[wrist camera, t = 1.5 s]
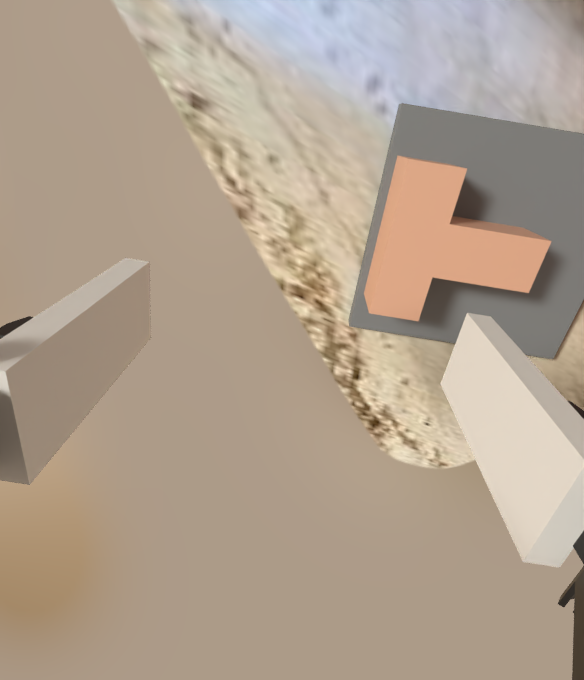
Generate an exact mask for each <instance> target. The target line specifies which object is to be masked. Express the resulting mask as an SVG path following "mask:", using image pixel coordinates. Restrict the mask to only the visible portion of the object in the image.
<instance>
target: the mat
mask: <svg viewBox="0 0 584 680" xmlns="http://www.w3.org/2000/svg"><path fill="white" fill-rule="evenodd" d="M397 155H398V156H404V157H410V158H416V159H422V160H428V161H434V162H440V163H446V164H451V165H455V166H459V167H463V168H467V171H466V174H465V178H464V181H463V184H462V187H461V190H460V193H459V196H458V199H457V203H456V206H455V209H454V212H453V215H452V216H455V217H461V218H467V219H473V220H479V221H485V222H491V223H498V224H504V225H510V226H516V227H522V228H525V229H527V230H529V231H531V232H533V233H536V234H538V235H540V236H542V237H544V238H546V239H548V240H550V241H551V244H550V246H549V248H548V251H547V253H546V255H545V257H544V260H543V262H542V264H541V266H540V269H539V271H538V273H537V275H536V278H535V280H534V282H533V284H532V287H531V289H530V291H529V293H525V292H519V291H512V290H506V289H500V288H494V287H488V286H482V285H476V284H470V283H464V282H458V281H451V280H445V279H439V278H433V277H432V280H431V284H430V287H429V290H428V293H427V296H426V299H425V302H424V305H423V309H422V312H421V315H420V318H419V321H413V320H407V319H401V318H395V317H388V316H382V315H376V314H370V313H369V311H368V307H367V303H366V299H365V296H364V291H365V287H366V282H367V278H368V274H369V270H370V266H371V262H372V258H373V254H374V250H375V246H376V242H377V237H378V233H379V229H380V225H381V221H382V217H383V213H384V209H385V205H386V201H387V196H388V192H389V188H390V184H391V180H392V176H393V172H394V168H395V164H396V160H397ZM583 300H584V134H582V133H576V132H570V131H564V130H558V129H552V128H546V127H540V126H534V125H528V124H522V123H516V122H510V121H504V120H498V119H492V118H486V117H481V116H475V115H469V114H463V113H457V112H451V111H445V110H439V109H433V108H427V107H421V106H415V105H409V104H403V103H402V104H399V107H398V111H397V115H396V120H395V124H394V128H393V133H392V137H391V141H390V145H389V150H388V154H387V158H386V163H385V167H384V171H383V175H382V180H381V184H380V188H379V193H378V197H377V201H376V205H375V210H374V214H373V218H372V223H371V227H370V231H369V235H368V240H367V244H366V248H365V253H364V257H363V261H362V265H361V270H360V274H359V278H358V283H357V287H356V291H355V295H354V300H353V304H352V308H351V313H350V317H349V326H351V327H357V328H363V329H369V330H376V331H382V332H388V333H394V334H400V335H406V336H412V337H419V338H425V339H431V340H437V341H443V342H449V343H456V341H457V338H458V336H459V333H460V330H461V328H462V325H463V322H464V320H465V317H466V314H467V313H472V314H478V315H485V316H491V317H492V318H493V320H494V321H495V322H496V323H497V324H498V325H499V326H500V327H501V328H502V329H503V331H504V332H505V333H506V334H507V335H508V336H509V337H510V338H511V339H512V340H513V342H514V343H515V344H516V345H517V346H518V347H519V348H520V349H521V350H522V352H523V353H524V354H525V355H530V356H536V357H542V358H548V359H553V358H554V356H555V354H556V353H557V351H558V349H559V347H560V345H561V343H562V341H563V339H564V337H565V335H566V333H567V331H568V329H569V327H570V325H571V323H572V321H573V319H574V317H575V315H576V314H577V312H578V310H579V308H580V306H581V304H582V302H583Z"/></svg>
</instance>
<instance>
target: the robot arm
mask: <svg viewBox="0 0 584 680" xmlns="http://www.w3.org/2000/svg"><path fill="white" fill-rule="evenodd" d="M150 320H151V318H150V262H148V261H141V260H135V259H129V258H125V259H123V260H122V261H120V262H119V263H117V264H115V265H114V266H112V267H111V268H109V269H108V270H106V271H105V272H103V273H102V274H100V275H98V276H97V277H95V278H94V279H92V280H91V281H89V282H88V283H86V284H85V285H83V286H81V287H80V288H79V289H77V290H75V291H74V292H72V293H71V294H69V295H68V296H66V297H64V298H63V299H61V300H60V301H58V302H57V303H55V304H54V305H52V306H51V307H49V308H48V309H46V310H44V311H43V312H42V313H40V314H38V315H37V316H35V317H26V318H23V319H20V320H17V321H14V322H11V323H8V324H6V325H4V326H2V327H1V328H0V480H2V481H9V482H15V483H22V484H28V485H30V484H31V483H32V481H33V480H34V479H35V478H36V477H37V475H38V474H39V473H40V472H41V470H42V469H43V468H44V467H45V466H46V464H47V463H48V462H49V461H50V460H51V458H52V457H53V456H54V455H55V454H56V452H57V451H58V450H59V449H60V447H61V446H62V445H63V444H64V443H65V441H66V440H67V439H68V438H69V437H70V435H71V434H72V433H73V432H74V431H75V429H76V428H77V427H78V426H79V424H80V423H81V422H82V421H83V420H84V418H85V417H86V416H87V415H88V414H89V412H90V411H91V410H92V409H93V408H94V406H95V405H96V404H97V403H98V401H99V400H100V399H101V398H102V397H103V395H104V394H105V393H106V392H107V391H108V389H109V388H110V387H111V386H112V385H113V383H114V382H115V381H116V380H117V378H118V377H119V376H120V375H121V374H122V372H123V371H124V370H125V369H126V367H127V366H128V365H129V364H130V363H131V361H132V360H133V359H134V358H135V357H136V355H137V354H138V353H139V352H140V351H141V349H142V348H143V347H144V346H145V345H146V343H147V342H148V341H149V340H150V338H151V321H150ZM441 387H442V389H443V391H444V393H445V395H446V397H447V400H448V402H449V404H450V406H451V408H452V410H453V412H454V415H455V417H456V419H457V421H458V423H459V425H460V427H461V430H462V432H463V434H464V436H465V438H466V440H467V443H468V445H469V447H470V449H471V451H472V453H473V455H474V458H475V460H476V462H477V464H478V466H479V468H480V470H481V473H482V475H483V477H484V479H485V481H486V483H487V485H488V488H489V490H490V492H491V494H492V496H493V498H494V500H495V502H496V505H497V507H498V509H499V511H500V513H501V516H502V518H503V520H504V522H505V524H506V526H507V528H508V530H509V533H510V535H511V537H512V539H513V541H514V543H515V546H516V548H517V550H518V552H519V554H520V556H521V558H522V561H523V562H527V563H534V564H540V565H547V566H553V567H560V566H561V565H562V563H563V562H564V561H565V559H566V558H567V556H568V555H569V554H570V552H571V551H572V549H573V548H574V549H575V550H576V552H577V554H578V555H579V557H580V559H581V560H582V562H583V564H584V411H583V410H582V409H580V408H579V407H578V406H576V405H575V404H573V403H572V402H570V401H567V400H566V399H565V398H564V397H563V396H562V395H561V393H560V392H559V391H558V390H557V389H556V388H555V387H554V386H553V385H552V384H551V382H550V381H549V380H548V379H547V378H546V377H545V376H544V375H543V374H542V373H541V371H540V370H539V369H538V368H537V367H536V366H535V365H534V364H533V363H532V361H531V360H530V359H529V358H528V357H527V356H526V355H525V354H524V353H523V352H522V350H521V349H520V348H519V347H518V346H517V345H516V344H515V343H514V342H513V340H512V339H511V338H510V337H509V336H508V335H507V334H506V333H505V332H504V331H503V329H502V328H501V327H500V326H499V325H498V324H497V323H496V322H495V321H494V320H493V318H492V317H491V316H485V315H478V314H472V313H467V314H466V317H465V320H464V322H463V325H462V328H461V330H460V333H459V336H458V338H457V341H456V344H455V346H454V349H453V352H452V354H451V357H450V360H449V362H448V365H447V368H446V370H445V373H444V376H443V378H442V381H441ZM574 598H575V603H574V604H575V605H574V611H573V613H574V638H573V674H572V680H584V566H583V568H582V569H581V570H580V572H579V573H578V574H577V576H576V577H575V578H574V580H573V581H572V583H571V584H570V585H569V586H568V588H567V589H566V590H565V591H564V593H563V594H562V595H561V597H560V600H559V602H558V604H559V605H561V606H562V607H565V605H566V604H567V603H568V602H569V600H570V599H574Z"/></svg>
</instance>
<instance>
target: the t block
mask: <svg viewBox="0 0 584 680" xmlns="http://www.w3.org/2000/svg"><path fill="white" fill-rule="evenodd" d="M466 171H467V168H463V167H459V166H455V165H451V164H446V163H440V162H434V161H428V160H422V159H416V158H410V157H404V156H398V155H397V160H396V164H395V168H394V172H393V176H392V180H391V184H390V188H389V192H388V196H387V201H386V205H385V209H384V213H383V217H382V221H381V225H380V229H379V233H378V237H377V242H376V246H375V250H374V254H373V258H372V262H371V266H370V270H369V274H368V278H367V282H366V287H365V291H364V296H365V299H366V303H367V307H368V311H369V313H370V314H376V315H382V316H388V317H395V318H401V319H407V320H413V321H419V318H420V315H421V312H422V309H423V305H424V302H425V299H426V296H427V293H428V290H429V287H430V284H431V280H432V277H433V278H439V279H445V280H451V281H458V282H464V283H470V284H476V285H482V286H488V287H494V288H500V289H506V290H512V291H519V292H525V293H529V291H530V289H531V287H532V284H533V282H534V280H535V278H536V275H537V273H538V271H539V269H540V266H541V264H542V262H543V260H544V257H545V255H546V253H547V251H548V248H549V246H550V244H551V241H550V240H548V239H546V238H544V237H542V236H540V235H538V234H536V233H533V232H531V231H529V230H527V229H525V228H522V227H516V226H510V225H504V224H498V223H491V222H485V221H479V220H473V219H467V218H461V217H455V216H452V215H453V212H454V209H455V206H456V203H457V199H458V196H459V193H460V190H461V187H462V184H463V181H464V178H465V174H466Z"/></svg>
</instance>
